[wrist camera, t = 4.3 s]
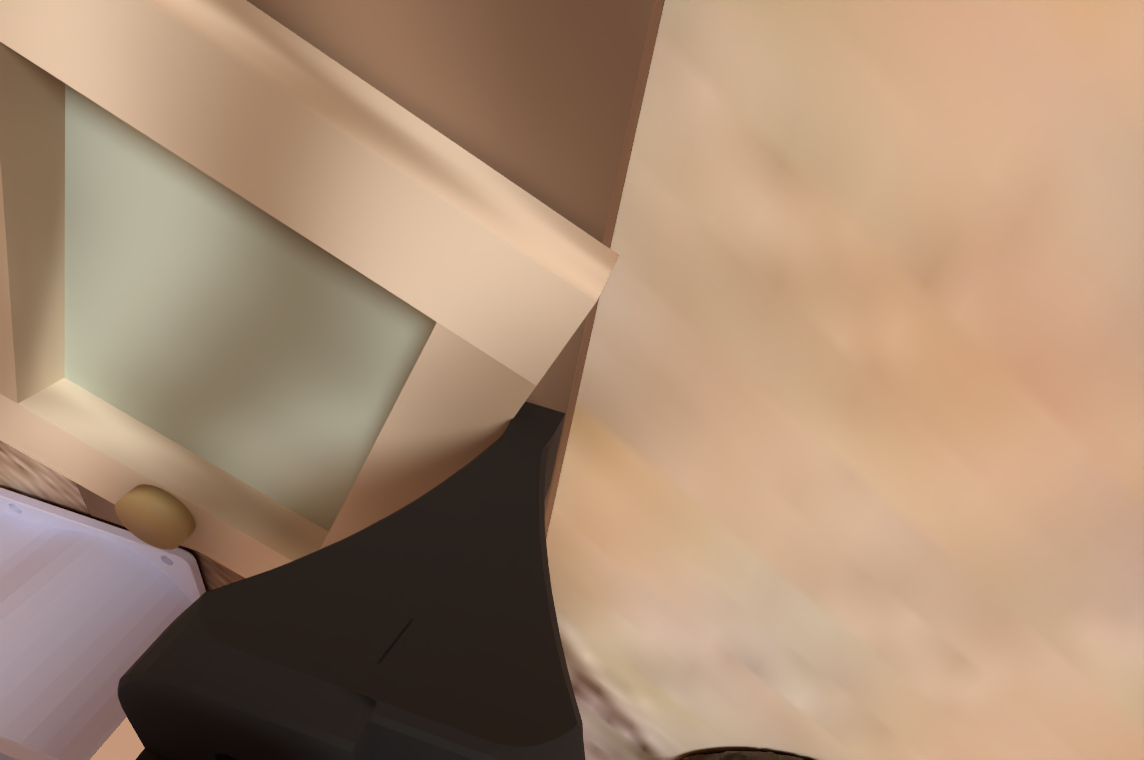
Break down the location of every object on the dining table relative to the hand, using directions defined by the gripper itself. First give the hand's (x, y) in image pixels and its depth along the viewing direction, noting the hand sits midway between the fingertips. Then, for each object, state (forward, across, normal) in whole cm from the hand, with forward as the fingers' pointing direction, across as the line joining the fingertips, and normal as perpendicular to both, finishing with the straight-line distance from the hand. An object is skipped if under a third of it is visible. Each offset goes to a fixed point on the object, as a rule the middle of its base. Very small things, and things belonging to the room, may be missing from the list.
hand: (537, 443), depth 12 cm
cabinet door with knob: (+1, +7, 0) cm, 7 cm away
